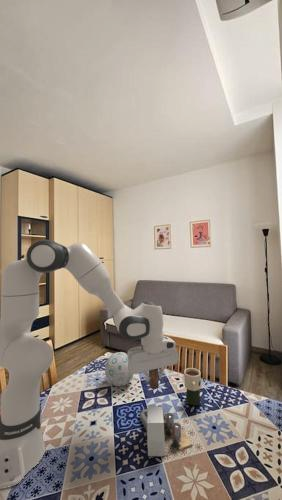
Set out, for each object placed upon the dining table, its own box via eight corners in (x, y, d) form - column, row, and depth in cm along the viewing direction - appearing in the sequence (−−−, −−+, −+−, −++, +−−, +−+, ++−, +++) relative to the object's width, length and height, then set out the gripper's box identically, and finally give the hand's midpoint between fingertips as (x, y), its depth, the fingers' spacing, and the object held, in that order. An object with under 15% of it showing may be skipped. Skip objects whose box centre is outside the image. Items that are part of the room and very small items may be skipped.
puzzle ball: (101, 379, 112) (101, 350, 112) (128, 372, 118) (127, 345, 119) (110, 396, 98) (109, 363, 98) (140, 387, 104) (139, 356, 105)
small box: (165, 457, 68) (164, 423, 68) (147, 456, 68) (146, 423, 68) (163, 435, 76) (162, 405, 76) (148, 435, 76) (147, 405, 76)
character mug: (203, 411, 87) (202, 379, 87) (186, 410, 88) (185, 378, 88) (199, 394, 98) (198, 365, 98) (184, 393, 98) (183, 365, 99)
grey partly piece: (148, 435, 76) (148, 428, 76) (139, 417, 85) (139, 411, 85) (171, 427, 79) (171, 420, 79) (160, 411, 88) (160, 404, 88)
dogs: (176, 451, 69) (176, 433, 70) (163, 428, 79) (162, 412, 79) (192, 445, 71) (191, 427, 72) (177, 424, 81) (176, 408, 81)
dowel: (151, 390, 80) (151, 371, 80) (147, 384, 84) (147, 366, 84) (160, 387, 82) (159, 369, 82) (156, 382, 85) (155, 364, 85)
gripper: (129, 351, 76) (130, 390, 76) (179, 342, 83) (180, 377, 83) (124, 345, 82) (125, 381, 82) (171, 336, 89) (172, 369, 89)
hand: (153, 379), depth 83 cm, fingers closed on dowel, 4 cm apart
